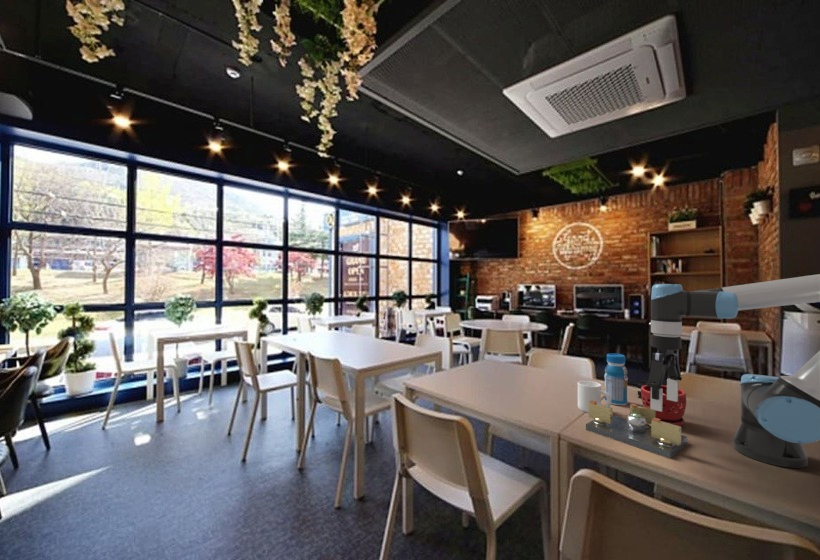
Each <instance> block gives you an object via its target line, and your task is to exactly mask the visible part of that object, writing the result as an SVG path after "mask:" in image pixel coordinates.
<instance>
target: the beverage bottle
mask: <svg viewBox="0 0 820 560" xmlns="http://www.w3.org/2000/svg"><path fill="white" fill-rule="evenodd" d="M606 362H607V364H606V366H605V368H604V372H605V373H604V375H603V376H604V391H606V392H607V393H608V394H609V396H610V398H611V405H614V406H620V407H621V406H626V405H627V404H628V380H629V377H628V376H627V375H628V370H627V368H626V366H625V364H626V356H625V355H624V354H621V353H607V354H606ZM604 401H605V402H606V403H607V398H606V396H605V395H604Z"/></svg>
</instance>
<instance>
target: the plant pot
mask: <svg viewBox="0 0 820 560" xmlns="http://www.w3.org/2000/svg"><path fill="white" fill-rule="evenodd" d="M661 388H662V389H663V397H662V412H661V411H657V410H655V418H658V419H660V421H662V422H666V423H669V424H673V425H677V426H680V427H682V425H684V424H685V419H684V418H683V417H684V415H685V411H686V407H687V393H686V392H685V390H682V389H681V388H678V402H675V401H671V400H667V385H663V384H662V386H661ZM640 391H641V397H642V399H641V400H642V401H641V402H642V405H643V406H642V407H650V403H651V387H649V386H647V385H644V386H642V387H641V389H640Z"/></svg>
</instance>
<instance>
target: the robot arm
mask: <svg viewBox="0 0 820 560" xmlns="http://www.w3.org/2000/svg"><path fill="white" fill-rule="evenodd" d="M650 297H651V298H650V322H649V323H648V325H649V326H650V332H651V333H652V334H651V335H650V338H649V339H650V342H649V343H650V344H649V345H650V346H651V347H652V348H655V349H657V350H656V352H652V357H651V358H652V359H651V364H650V370H649V375H648V380H647V381H648V383H647V386H649V387H651V403H650V409H653V410H657V411H661V412H662V397H663V395H664V393H663V389H662V388H661V386H662V385H663V382H664V379H665V375H667V377H668V378H667V379H666V386H667V400H671V401H675V402H678V389H679V381H682V380H683V377H682V375H681V367H680V361H679V352H678V351H679V350H681V349H682V337H681V335H682V333H683V327H682V326H683V325H682V324H683V319H682V318H683V317H695V318H709V319H719V320H721V319H729V320H730V319H731V320H732V319H735V318H736V317H737V316H738V313H739V311H745V310H755V309H766V308H774V307H775V308H776V307H782V306H784V307H785V306H793V305H801V304H803V305H804V304H811V303H812V304H813V303H820V273H819V274H812V275H804V276H797V277H790V278H789V277H788V278H781V279H774V280H768V281H761V282H754V283H752V282H751V283H745V284H739V285H738V284H737V285H731V286H722V287H718V288H710V289H698V290H694V291H693V290H691V291H690V290H684V288H683V286H682V284H680V283H678V284H677V283H675V284H674V283H656V284H653V285H652V287H651V295H650ZM739 385H740V423H739V425H738V428H737V430H736V432H735V434H734V436H733V440H732V441H733V442H732V447H733V449H734V450H736V451H737V452H739V453H740V454H742V455H744V456H746V457H749V458H751V459H753V460H756V461H758V462H759V461H760V462H761V463H766V464H769V465H773V466H778V467H782V468H783V467H784V468H789V469H790V468H793V469H800V468H801V469H802V468H803V469H804V468H806V467H808V462H809V461H808V458H809V457H808V454H807V452H806V450H805V448H804V445H803V444H813V443H816V442H818V441H820V350H818V351H817V353H816V354H814V355H813V356H812V357H811V358H810V359H809V360H808V361H806V363H805V364H804V365H803V366H801V367H800V368H799V369H798V370H797V371H796V372H795V373H794V374H793V375H780V376H771V375H762V374H753V373H751V374H750V373H746V374H743V375H741V377H740V383H739Z"/></svg>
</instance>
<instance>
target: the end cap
mask: <svg viewBox="0 0 820 560" xmlns="http://www.w3.org/2000/svg"><path fill="white" fill-rule="evenodd" d="M647 383H648V380H644V379H642V380H641V381H640V382H638V383H637V389H639V390H638V391H637V398H638V399H641V400H642V397H641V387H642V386H644V385H647Z"/></svg>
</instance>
